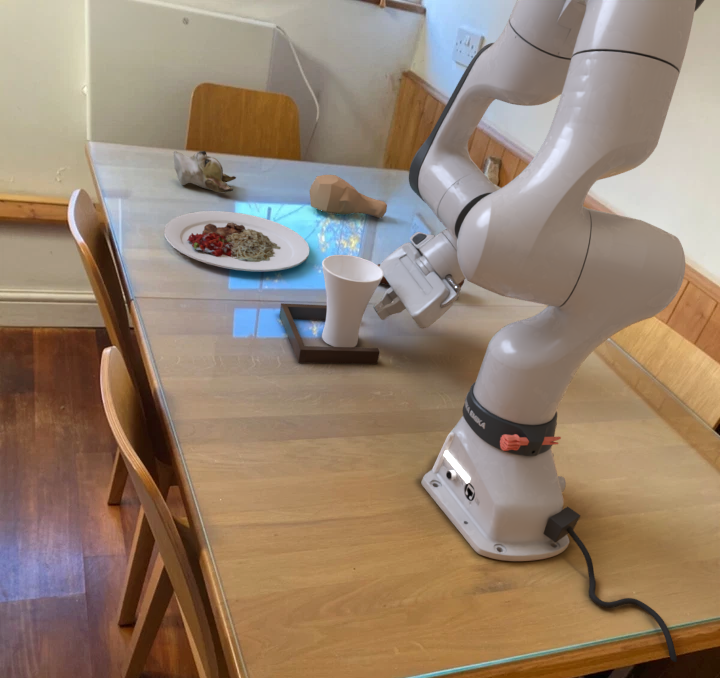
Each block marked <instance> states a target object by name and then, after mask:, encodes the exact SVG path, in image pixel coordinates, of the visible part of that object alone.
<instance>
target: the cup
mask: <svg viewBox="0 0 720 678" xmlns="http://www.w3.org/2000/svg"><path fill="white" fill-rule="evenodd" d="M321 266H322V273H323V279H324V287H325V295H326V305H327V313H326V321H324V326H323V330H322V333H321V339H322V340H323V342H324V343H326V344H327V345H329V346H330V347H356V346H357V345H358V344H359V343H358V341H359V333H360V327H361V323H362V320H363V317H364V314H365V312H366V310H367V307H368V305H369V303H370V301H371V299H372V297H373V296H374V293H375V292H376V290H377V288H378V287H379V285H380V284H381V283H380V281H381V280H382V278H383V276H384V272H383V271H382V269H381V268H380V267H379V266H378V264H376V263H374V262H373V261H371V260H369V259H366V258H364V257H360V256H355V255H351V254H334V255H329V256H326V257H325V258H324V259H323V260H322V261H321Z"/></svg>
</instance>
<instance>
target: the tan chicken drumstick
mask: <svg viewBox="0 0 720 678" xmlns="http://www.w3.org/2000/svg"><path fill="white" fill-rule="evenodd" d="M309 201H310V206H311V207H312V208H314V209H316V208H317V209H316V210H318V211H319V212H322V213H326V214H332V215H342V216H347V215H352V214H359V215H360V214H361V215H366V216H367V215H368V216H372V217H375V218H377V219H382V218H384V216H385V214H386V213H387V210H388V204H387V203H386V202H385V201H383V200H380V199H376V198H373V197H369V196H367V195H365V194H362V193H361V192H359V191H358V190H357V189H356V188H355V187H354V186H353V185H351V184H350V183H349V182H348V181H346V180H345V179H343V178H341V177H340V176H338V175H336V174H322V175H317V176H316V177H315V178H314V180H313V182H312V184H311V185H310V187H309ZM321 210H322V211H321Z"/></svg>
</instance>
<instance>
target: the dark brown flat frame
mask: <svg viewBox="0 0 720 678" xmlns="http://www.w3.org/2000/svg"><path fill="white" fill-rule="evenodd" d="M326 313H327V304H326V305H325V304H304V303H285V302H284V303H283V302H281V303H280V308H279V318H280V321H281V323H282V327H283V329H284V331H285V333H286V336H287V338H288V340H289V343H290V346H291V348H292V350H293V353H294V355H295V358H296V361H297V362H298V363H299V364H300V363H301V364H350V365H351V364H357V365H378V361H379V357H380V353H381V351H380V349H379V347H358V346H357V347H356V346H354V347H334V346H320V345H319V346H317V345H315V346H314V345H313V346H312V345H305V344H304V341H303V339H302V337H301V335H300V332H299V330H298V327H297V325H296V323H295V320H300V321H324V322H326Z"/></svg>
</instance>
